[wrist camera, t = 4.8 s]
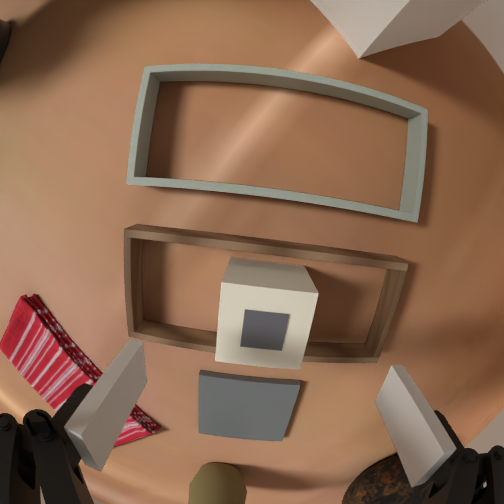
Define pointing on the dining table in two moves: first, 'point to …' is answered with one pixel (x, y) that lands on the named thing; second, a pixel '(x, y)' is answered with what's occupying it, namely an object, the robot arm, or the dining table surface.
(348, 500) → the glass bottle
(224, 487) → the squeeze bottle
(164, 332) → the walnut frame
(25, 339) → the dish towel
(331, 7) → the milk
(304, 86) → the grey frame
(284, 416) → the slate tile
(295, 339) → the cream cube
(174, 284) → the dining table surface
